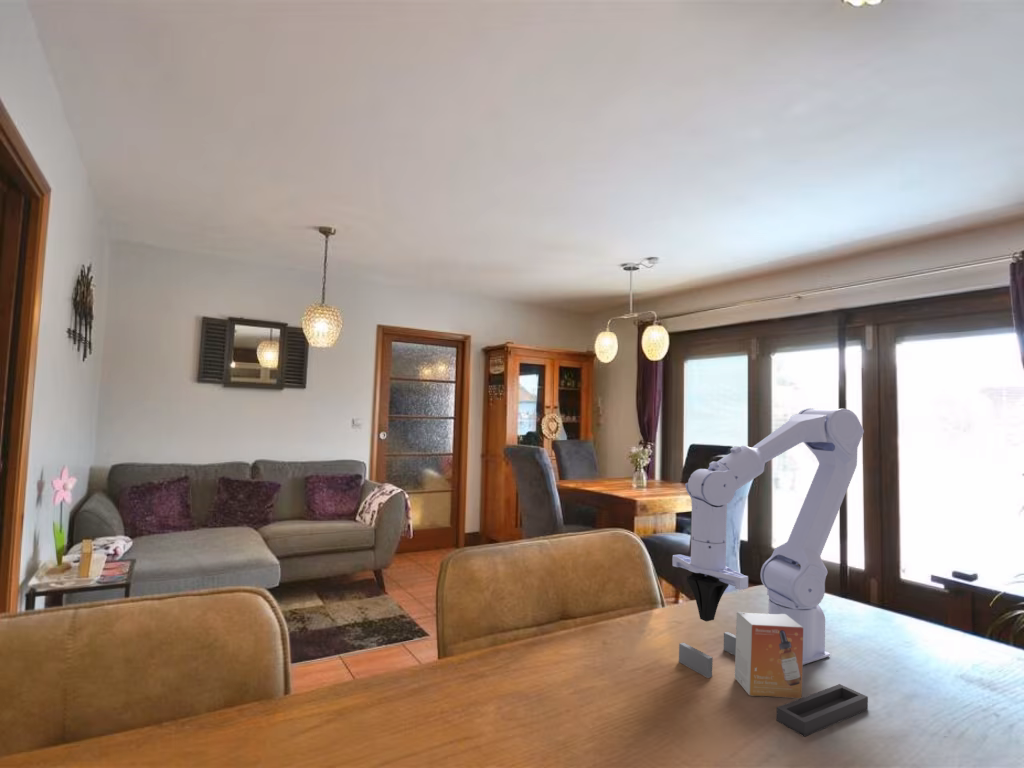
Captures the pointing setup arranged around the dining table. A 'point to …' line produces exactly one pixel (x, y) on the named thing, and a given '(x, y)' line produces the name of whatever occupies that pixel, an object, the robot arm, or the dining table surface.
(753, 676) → the small box
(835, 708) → the tray
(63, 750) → the dining table surface
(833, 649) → the dining table surface
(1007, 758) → the dining table surface
